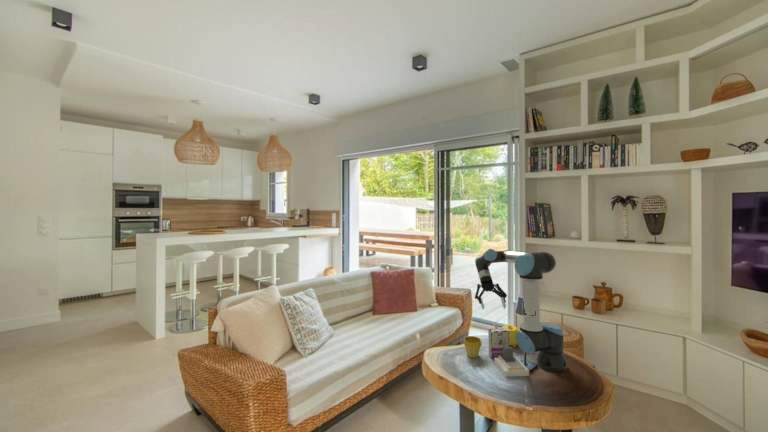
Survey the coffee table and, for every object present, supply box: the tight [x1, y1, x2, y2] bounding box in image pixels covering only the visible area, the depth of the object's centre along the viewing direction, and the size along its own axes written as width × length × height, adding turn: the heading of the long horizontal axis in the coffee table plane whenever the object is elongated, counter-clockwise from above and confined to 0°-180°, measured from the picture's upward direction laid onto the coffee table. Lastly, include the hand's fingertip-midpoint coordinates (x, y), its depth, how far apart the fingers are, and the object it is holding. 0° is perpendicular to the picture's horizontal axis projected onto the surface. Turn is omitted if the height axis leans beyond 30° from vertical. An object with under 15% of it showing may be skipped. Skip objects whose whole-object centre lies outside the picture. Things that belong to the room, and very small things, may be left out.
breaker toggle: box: [502, 346, 515, 362], centre depth 185 cm, size 6×4×7 cm, turn 92°
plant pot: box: [463, 335, 482, 359], centre depth 199 cm, size 10×10×10 cm
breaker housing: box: [494, 354, 530, 378], centre depth 181 cm, size 13×15×4 cm
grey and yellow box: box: [492, 323, 520, 348], centre depth 213 cm, size 13×20×12 cm
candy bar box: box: [487, 327, 510, 360], centre depth 196 cm, size 11×5×16 cm, turn 95°
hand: (494, 308), depth 202 cm, fingers open, 13 cm apart
